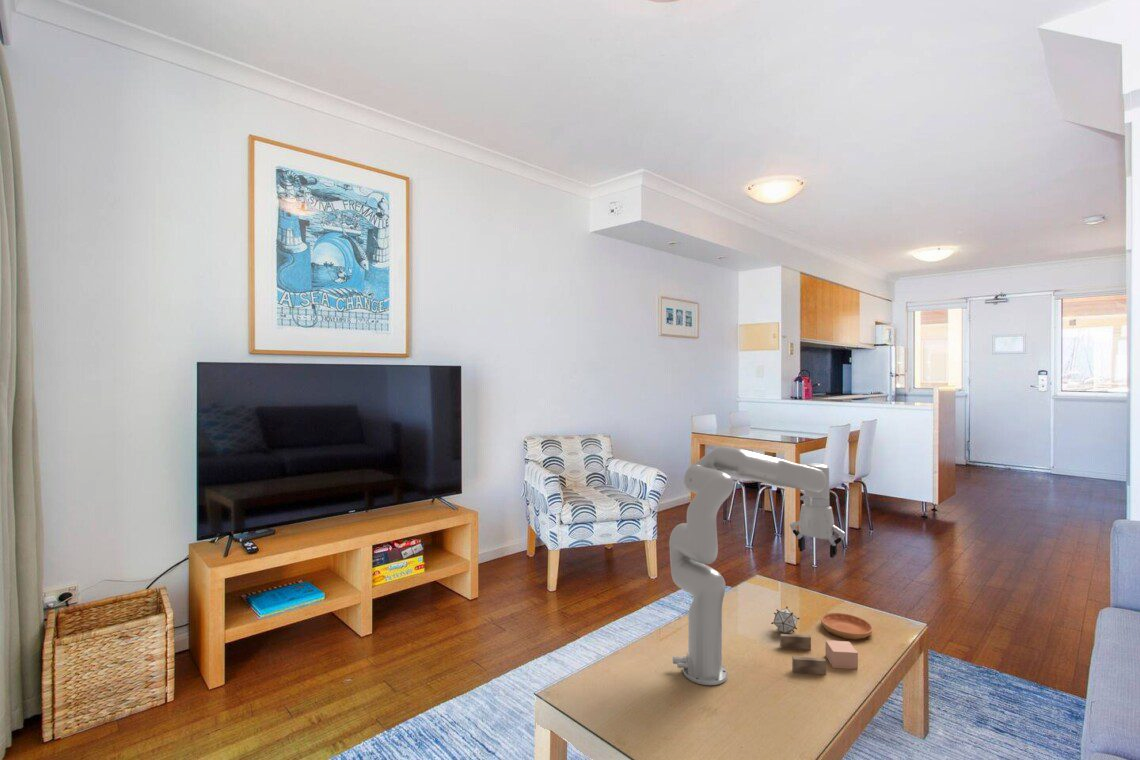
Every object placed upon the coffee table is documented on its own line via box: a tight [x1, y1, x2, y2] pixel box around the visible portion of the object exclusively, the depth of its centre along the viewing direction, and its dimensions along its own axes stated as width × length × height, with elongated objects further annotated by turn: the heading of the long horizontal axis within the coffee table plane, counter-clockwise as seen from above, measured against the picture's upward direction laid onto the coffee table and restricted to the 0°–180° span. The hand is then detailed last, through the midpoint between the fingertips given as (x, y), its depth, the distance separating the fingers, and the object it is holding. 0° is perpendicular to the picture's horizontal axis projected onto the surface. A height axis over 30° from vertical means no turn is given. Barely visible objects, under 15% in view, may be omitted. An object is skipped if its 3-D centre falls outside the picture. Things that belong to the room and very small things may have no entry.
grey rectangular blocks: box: [779, 633, 827, 676], centre depth 172 cm, size 9×16×4 cm, turn 173°
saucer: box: [820, 612, 874, 640], centre depth 191 cm, size 16×16×3 cm
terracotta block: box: [825, 639, 859, 669], centre depth 170 cm, size 7×7×5 cm
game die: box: [770, 606, 800, 634], centre depth 190 cm, size 9×8×10 cm
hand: (817, 553), depth 184 cm, fingers open, 9 cm apart
